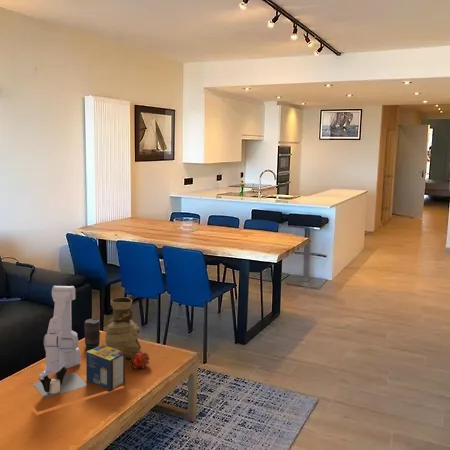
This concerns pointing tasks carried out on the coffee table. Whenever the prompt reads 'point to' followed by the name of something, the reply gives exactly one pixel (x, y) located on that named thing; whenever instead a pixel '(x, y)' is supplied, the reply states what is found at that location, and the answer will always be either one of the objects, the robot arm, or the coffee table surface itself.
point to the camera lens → (92, 333)
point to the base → (63, 385)
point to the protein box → (105, 367)
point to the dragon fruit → (140, 360)
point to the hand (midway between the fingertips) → (53, 387)
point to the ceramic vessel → (123, 328)
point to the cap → (54, 386)
